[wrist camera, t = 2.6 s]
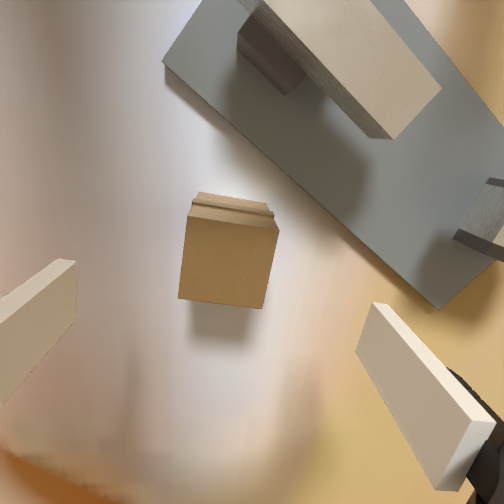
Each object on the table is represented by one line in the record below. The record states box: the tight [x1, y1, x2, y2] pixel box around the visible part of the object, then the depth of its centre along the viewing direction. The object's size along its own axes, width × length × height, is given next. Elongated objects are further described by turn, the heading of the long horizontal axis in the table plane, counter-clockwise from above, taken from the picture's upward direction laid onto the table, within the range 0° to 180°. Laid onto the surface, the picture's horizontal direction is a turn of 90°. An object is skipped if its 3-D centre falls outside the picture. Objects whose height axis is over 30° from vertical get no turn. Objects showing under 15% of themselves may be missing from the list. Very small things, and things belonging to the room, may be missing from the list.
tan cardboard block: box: [178, 192, 279, 309], centre depth 21 cm, size 5×5×7 cm
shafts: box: [237, 0, 504, 247], centre depth 17 cm, size 27×6×3 cm, turn 50°
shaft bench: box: [162, 0, 504, 310], centre depth 21 cm, size 28×12×4 cm, turn 50°
